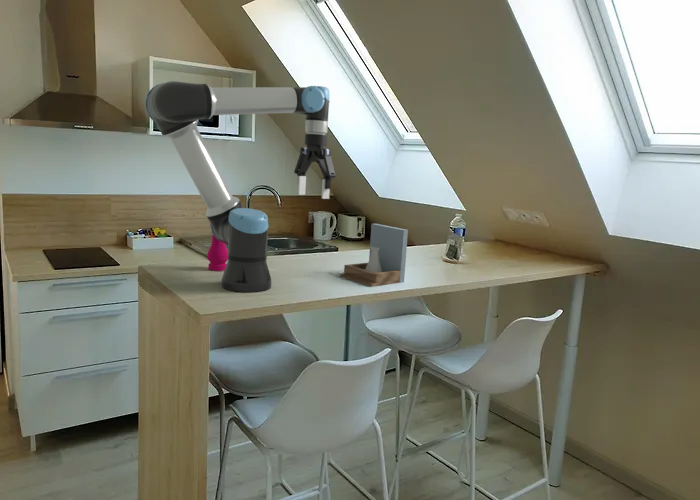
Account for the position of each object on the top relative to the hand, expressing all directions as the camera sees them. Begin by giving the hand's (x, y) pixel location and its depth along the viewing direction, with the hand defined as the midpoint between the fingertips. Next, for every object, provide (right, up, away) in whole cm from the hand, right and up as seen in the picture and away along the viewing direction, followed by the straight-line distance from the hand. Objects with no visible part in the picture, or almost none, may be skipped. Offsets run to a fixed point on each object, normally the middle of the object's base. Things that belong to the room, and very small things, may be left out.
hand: (313, 196), depth 200 cm
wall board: (+25, -28, +4) cm, 38 cm away
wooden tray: (+20, -28, -1) cm, 35 cm away
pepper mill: (-33, -25, +1) cm, 42 cm away
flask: (+21, -28, 0) cm, 34 cm away
